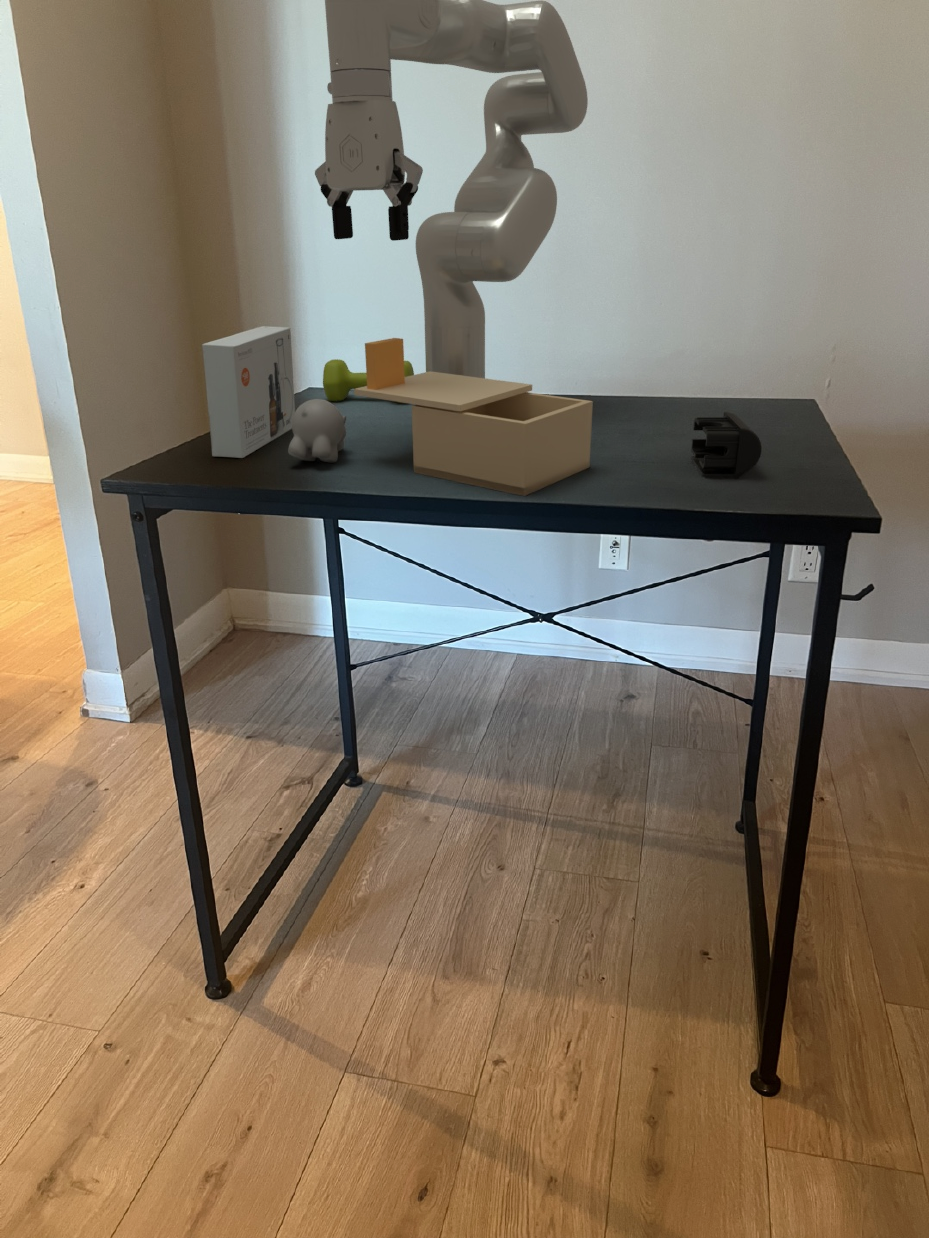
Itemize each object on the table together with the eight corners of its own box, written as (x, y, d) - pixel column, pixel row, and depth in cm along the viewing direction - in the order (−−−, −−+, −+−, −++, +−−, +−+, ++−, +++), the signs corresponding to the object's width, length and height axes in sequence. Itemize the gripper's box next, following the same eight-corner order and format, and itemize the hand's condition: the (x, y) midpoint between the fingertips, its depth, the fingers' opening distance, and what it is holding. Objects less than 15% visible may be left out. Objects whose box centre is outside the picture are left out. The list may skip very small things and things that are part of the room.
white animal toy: (361, 470, 131) (367, 412, 130) (326, 459, 119) (333, 396, 119) (317, 466, 133) (323, 409, 132) (278, 455, 121) (285, 392, 121)
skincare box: (246, 459, 127) (233, 345, 120) (211, 458, 128) (196, 344, 121) (300, 426, 146) (291, 325, 139) (269, 424, 147) (258, 324, 140)
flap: (430, 376, 133) (428, 329, 130) (532, 390, 123) (533, 339, 120) (354, 394, 121) (351, 343, 119) (460, 411, 111) (459, 356, 108)
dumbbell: (320, 404, 161) (317, 363, 158) (334, 395, 168) (331, 356, 165) (408, 406, 159) (407, 365, 156) (418, 398, 166) (417, 358, 163)
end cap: (758, 480, 116) (765, 428, 113) (703, 479, 116) (708, 428, 113) (740, 459, 125) (746, 411, 122) (689, 459, 125) (694, 411, 122)
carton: (483, 448, 131) (483, 386, 128) (589, 467, 121) (592, 401, 118) (413, 472, 120) (411, 405, 116) (524, 496, 110) (525, 424, 106)
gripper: (290, 93, 112) (304, 240, 120) (396, 83, 103) (404, 242, 111) (331, 96, 117) (341, 236, 125) (435, 87, 108) (439, 238, 116)
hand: (371, 239), depth 118 cm, fingers open, 9 cm apart
